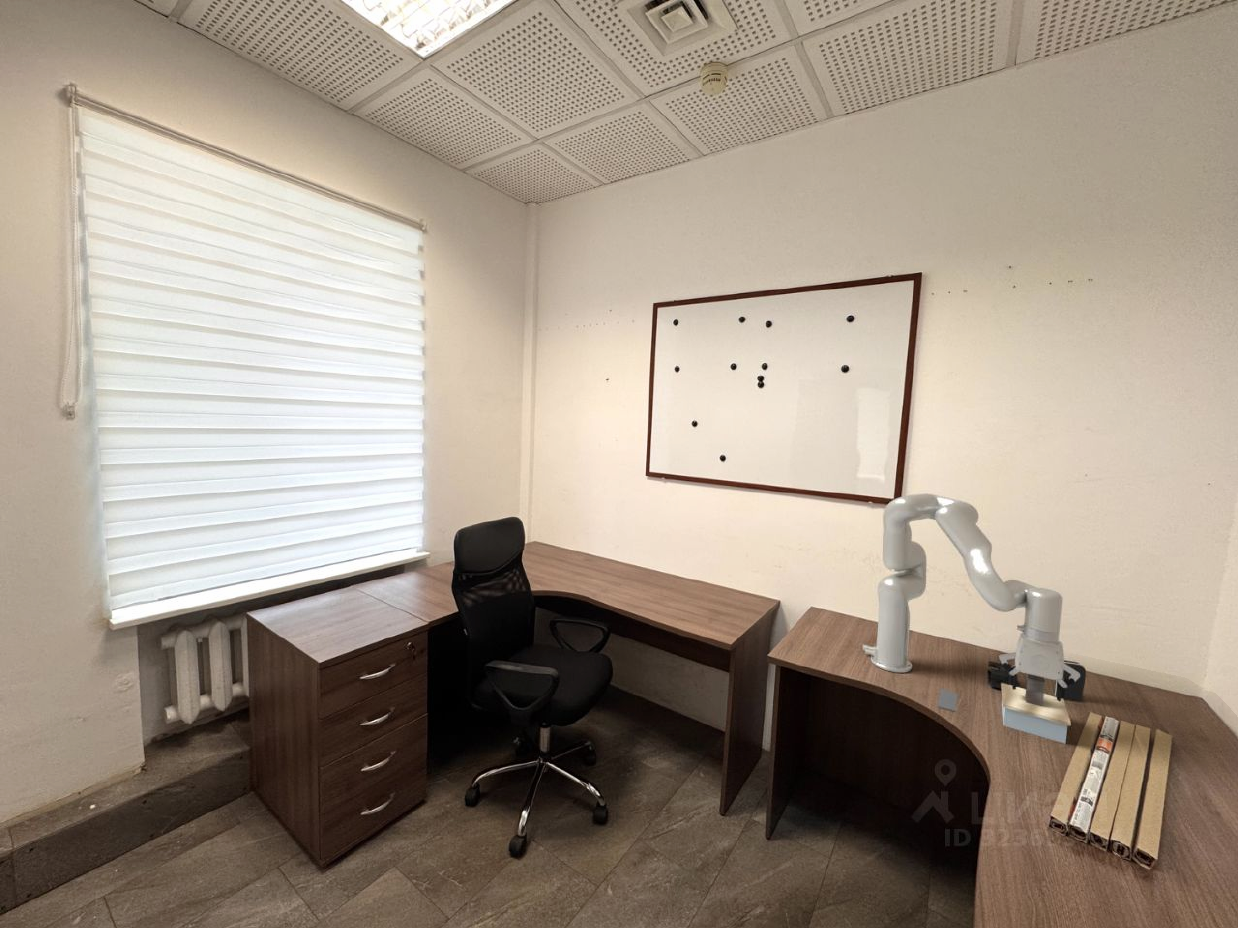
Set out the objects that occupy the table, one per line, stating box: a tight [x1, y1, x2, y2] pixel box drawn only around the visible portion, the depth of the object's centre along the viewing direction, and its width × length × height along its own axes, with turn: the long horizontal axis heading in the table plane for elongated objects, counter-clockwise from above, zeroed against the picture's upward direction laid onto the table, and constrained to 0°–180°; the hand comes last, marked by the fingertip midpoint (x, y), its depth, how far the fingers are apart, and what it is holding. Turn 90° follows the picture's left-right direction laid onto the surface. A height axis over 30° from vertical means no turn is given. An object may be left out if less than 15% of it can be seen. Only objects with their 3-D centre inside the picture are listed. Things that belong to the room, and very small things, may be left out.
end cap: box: [986, 661, 1021, 690], centre depth 161 cm, size 10×7×7 cm
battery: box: [1053, 660, 1087, 702], centre depth 156 cm, size 7×4×11 cm, turn 73°
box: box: [1001, 700, 1068, 745], centre depth 141 cm, size 13×13×6 cm
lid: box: [1001, 674, 1072, 727], centre depth 141 cm, size 14×14×9 cm
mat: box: [937, 687, 958, 713], centre depth 151 cm, size 10×12×1 cm
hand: (1035, 693), depth 141 cm, fingers open, 9 cm apart
